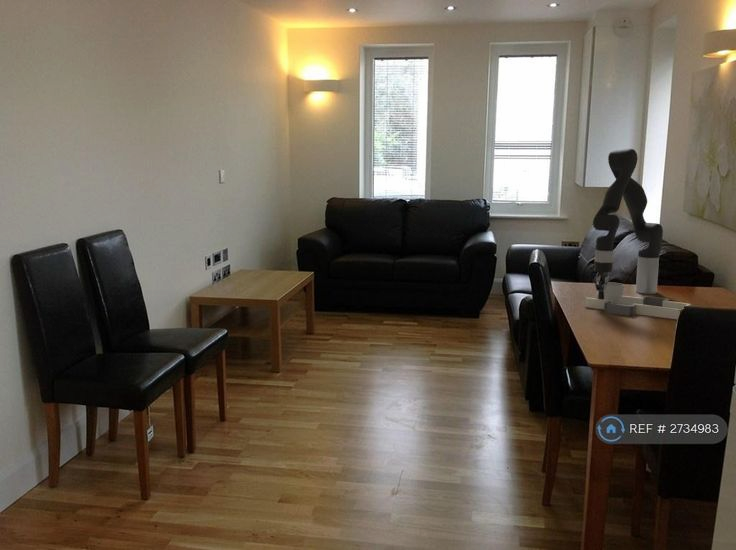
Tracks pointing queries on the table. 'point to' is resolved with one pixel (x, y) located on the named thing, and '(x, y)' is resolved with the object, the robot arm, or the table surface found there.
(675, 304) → the box
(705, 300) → the table surface
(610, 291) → the cup
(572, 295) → the table surface
